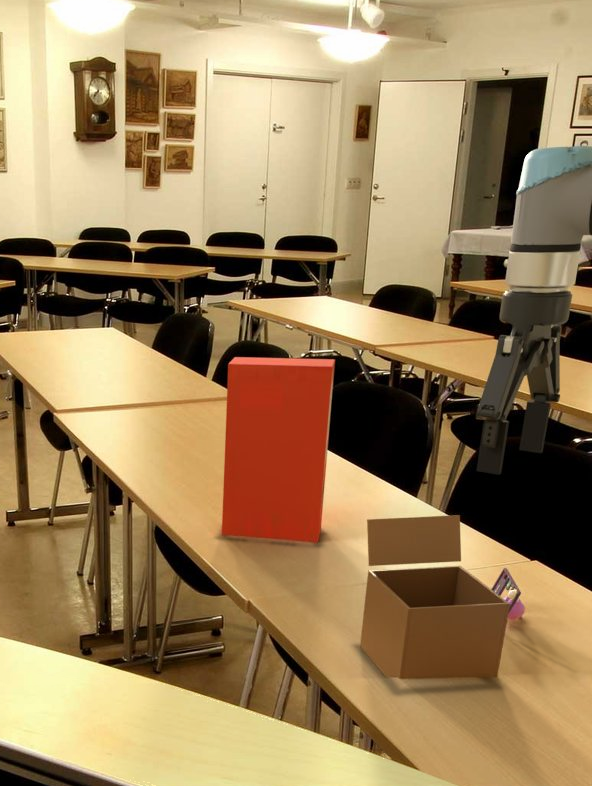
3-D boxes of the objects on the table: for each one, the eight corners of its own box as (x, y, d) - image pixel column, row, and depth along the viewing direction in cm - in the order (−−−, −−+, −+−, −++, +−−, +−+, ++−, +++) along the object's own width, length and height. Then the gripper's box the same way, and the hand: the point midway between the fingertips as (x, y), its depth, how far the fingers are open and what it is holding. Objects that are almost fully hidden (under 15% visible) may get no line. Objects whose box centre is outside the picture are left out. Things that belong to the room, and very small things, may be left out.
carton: (359, 646, 126) (368, 570, 122) (449, 641, 127) (460, 565, 123) (397, 691, 115) (408, 609, 110) (495, 685, 115) (510, 603, 111)
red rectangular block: (228, 523, 176) (235, 356, 163) (320, 531, 170) (335, 358, 158) (221, 538, 169) (227, 364, 156) (317, 546, 163) (332, 367, 151)
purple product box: (499, 565, 135) (513, 590, 126) (533, 578, 134) (549, 603, 126) (477, 603, 138) (489, 629, 129) (510, 615, 137) (524, 643, 129)
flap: (369, 566, 122) (368, 565, 122) (461, 561, 123) (460, 561, 123) (367, 519, 122) (366, 519, 122) (459, 515, 122) (458, 515, 123)
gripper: (544, 280, 119) (518, 439, 127) (461, 296, 103) (438, 476, 111) (606, 282, 114) (576, 447, 122) (530, 299, 98) (501, 487, 106)
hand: (510, 461), depth 117 cm, fingers open, 13 cm apart
